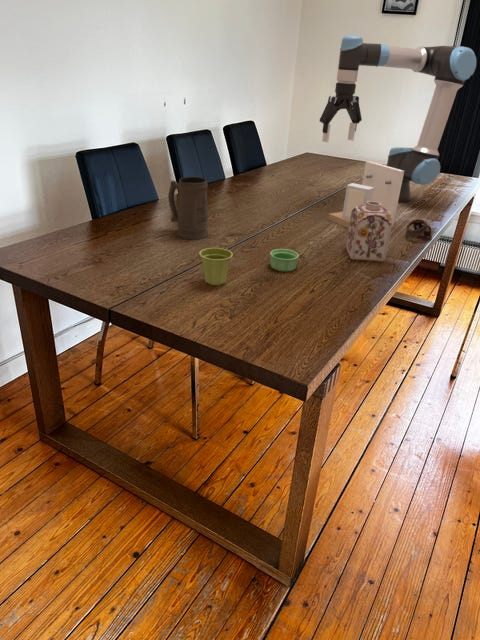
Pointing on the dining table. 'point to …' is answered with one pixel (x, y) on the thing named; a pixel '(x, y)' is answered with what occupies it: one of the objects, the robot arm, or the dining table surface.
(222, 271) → the plant pot
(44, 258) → the dining table surface
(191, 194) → the beer stein
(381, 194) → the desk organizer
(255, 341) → the dining table surface
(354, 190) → the white block
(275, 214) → the dining table surface
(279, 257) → the ramekin
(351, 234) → the decorative jar
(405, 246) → the dining table surface
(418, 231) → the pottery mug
